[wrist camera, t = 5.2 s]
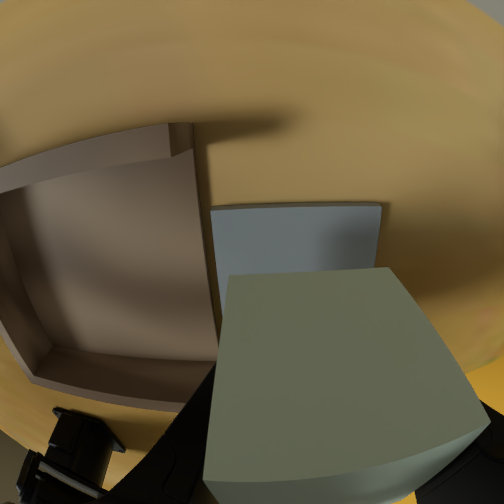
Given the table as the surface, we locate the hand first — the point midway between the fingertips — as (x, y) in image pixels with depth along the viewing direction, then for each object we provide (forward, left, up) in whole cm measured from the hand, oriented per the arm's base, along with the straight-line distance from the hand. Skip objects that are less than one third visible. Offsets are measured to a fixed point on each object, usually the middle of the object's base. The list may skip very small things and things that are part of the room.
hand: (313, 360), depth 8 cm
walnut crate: (+1, +10, -5) cm, 12 cm away
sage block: (0, 0, -1) cm, 1 cm away
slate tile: (0, 0, -5) cm, 5 cm away
